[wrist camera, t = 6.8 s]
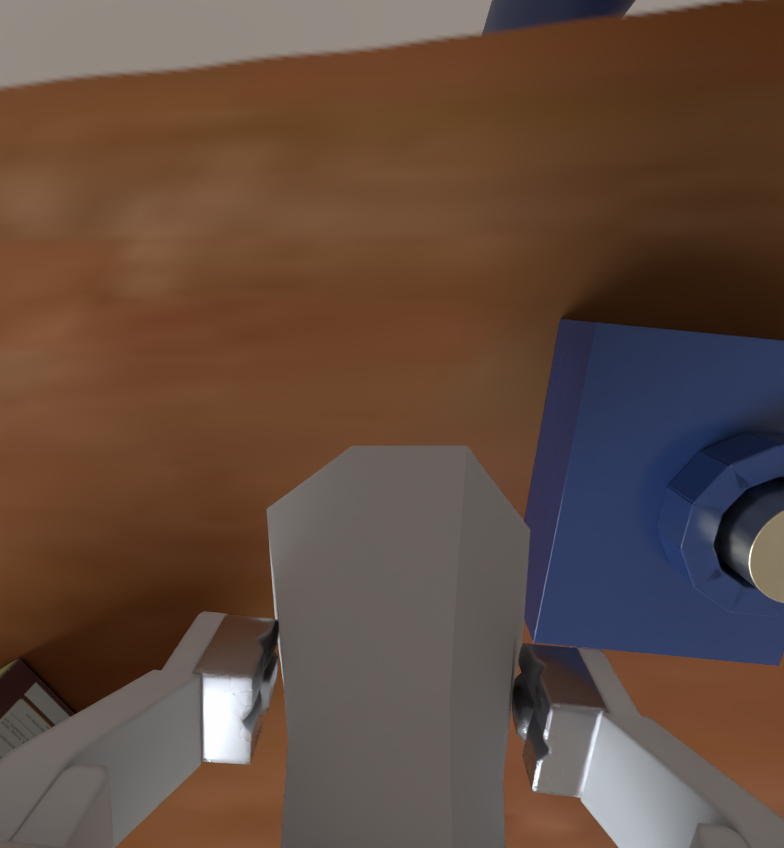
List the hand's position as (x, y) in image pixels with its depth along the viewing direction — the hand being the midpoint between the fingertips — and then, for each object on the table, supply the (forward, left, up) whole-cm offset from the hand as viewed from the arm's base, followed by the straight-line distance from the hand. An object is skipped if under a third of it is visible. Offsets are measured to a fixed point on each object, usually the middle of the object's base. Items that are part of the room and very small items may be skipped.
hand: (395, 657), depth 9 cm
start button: (0, +14, -9) cm, 17 cm away
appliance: (0, +12, -14) cm, 19 cm away
